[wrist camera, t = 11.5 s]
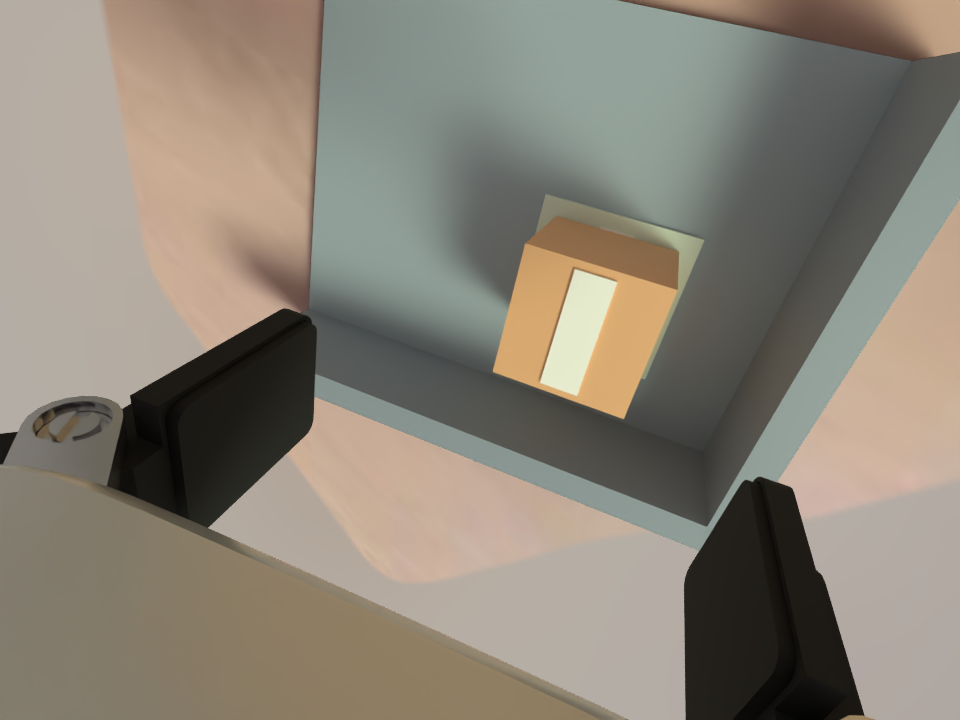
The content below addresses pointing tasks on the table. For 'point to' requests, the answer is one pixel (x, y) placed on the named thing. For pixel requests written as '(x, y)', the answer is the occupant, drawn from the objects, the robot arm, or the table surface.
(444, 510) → the table surface
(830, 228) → the grey blue tray
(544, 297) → the cube
